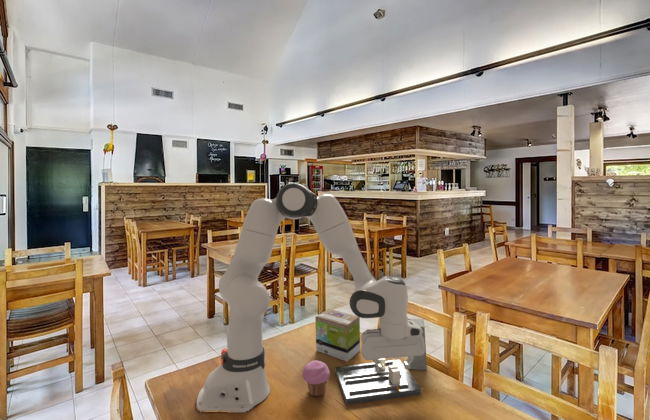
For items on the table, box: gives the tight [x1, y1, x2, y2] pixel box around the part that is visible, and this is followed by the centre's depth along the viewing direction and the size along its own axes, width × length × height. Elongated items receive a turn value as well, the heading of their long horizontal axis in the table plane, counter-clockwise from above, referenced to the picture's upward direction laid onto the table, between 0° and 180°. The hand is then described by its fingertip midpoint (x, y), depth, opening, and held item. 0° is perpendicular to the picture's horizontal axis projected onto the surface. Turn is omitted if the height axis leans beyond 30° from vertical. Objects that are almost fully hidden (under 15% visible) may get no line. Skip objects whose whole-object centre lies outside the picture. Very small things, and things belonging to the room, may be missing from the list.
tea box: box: [315, 308, 361, 363], centre depth 135 cm, size 15×10×15 cm, turn 55°
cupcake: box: [302, 359, 331, 397], centre depth 109 cm, size 9×9×10 cm
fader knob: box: [388, 365, 400, 385], centre depth 110 cm, size 2×4×5 cm, turn 9°
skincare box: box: [408, 318, 428, 371], centre depth 124 cm, size 8×7×16 cm
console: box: [334, 358, 422, 406], centre depth 114 cm, size 24×18×7 cm
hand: (392, 369), depth 110 cm, fingers open, 8 cm apart
